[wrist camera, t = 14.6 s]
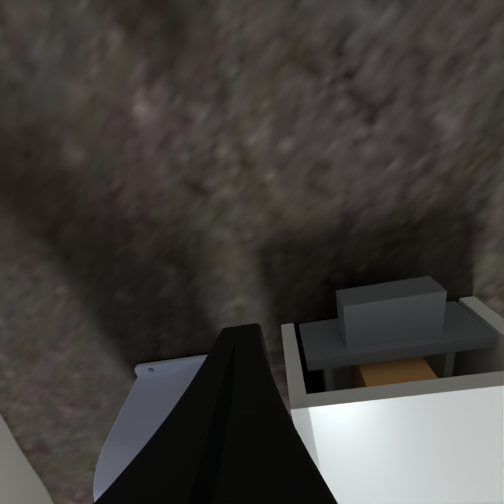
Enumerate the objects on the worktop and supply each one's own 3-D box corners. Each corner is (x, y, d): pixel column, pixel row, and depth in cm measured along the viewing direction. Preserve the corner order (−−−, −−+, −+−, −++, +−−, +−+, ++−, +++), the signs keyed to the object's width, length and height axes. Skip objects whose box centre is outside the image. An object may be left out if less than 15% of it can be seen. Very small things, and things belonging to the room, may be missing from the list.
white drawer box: (301, 422, 26) (315, 517, 19) (280, 324, 21) (290, 409, 14) (455, 406, 24) (525, 503, 18) (473, 296, 19) (580, 376, 13)
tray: (314, 417, 25) (323, 459, 22) (292, 286, 19) (299, 318, 16) (441, 403, 24) (470, 446, 20) (460, 259, 18) (506, 287, 14)
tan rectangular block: (353, 395, 23) (374, 452, 19) (349, 344, 20) (371, 397, 16) (405, 389, 22) (438, 446, 18) (407, 336, 20) (445, 388, 16)
